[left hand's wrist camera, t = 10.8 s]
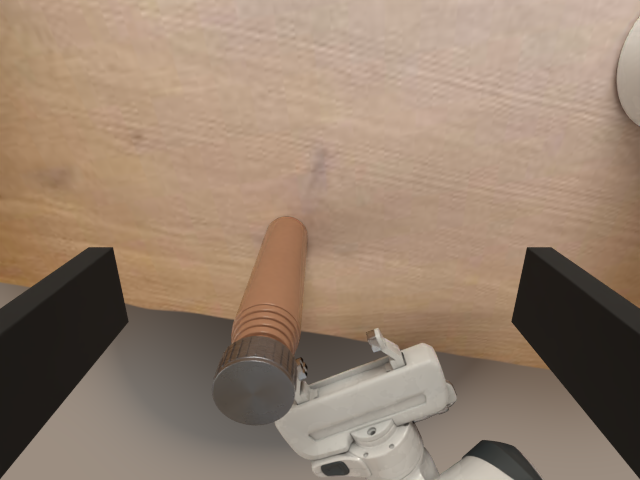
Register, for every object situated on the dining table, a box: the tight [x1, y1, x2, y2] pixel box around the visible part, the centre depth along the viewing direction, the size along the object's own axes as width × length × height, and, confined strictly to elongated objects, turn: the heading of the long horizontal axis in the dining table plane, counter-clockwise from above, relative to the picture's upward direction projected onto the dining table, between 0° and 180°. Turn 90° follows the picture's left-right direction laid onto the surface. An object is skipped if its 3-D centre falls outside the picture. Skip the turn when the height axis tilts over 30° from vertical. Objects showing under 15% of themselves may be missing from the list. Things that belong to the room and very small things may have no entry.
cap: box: [212, 336, 298, 425], centre depth 23 cm, size 5×5×2 cm
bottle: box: [231, 217, 308, 356], centre depth 33 cm, size 5×5×24 cm
